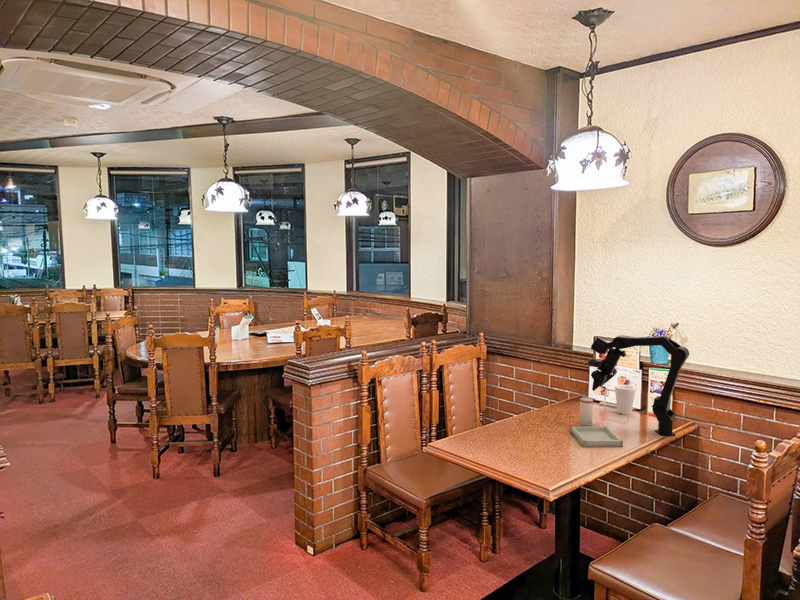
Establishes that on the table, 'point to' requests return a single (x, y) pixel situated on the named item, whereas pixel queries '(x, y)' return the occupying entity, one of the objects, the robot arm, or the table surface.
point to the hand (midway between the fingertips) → (596, 388)
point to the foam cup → (624, 398)
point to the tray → (596, 437)
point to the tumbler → (586, 412)
